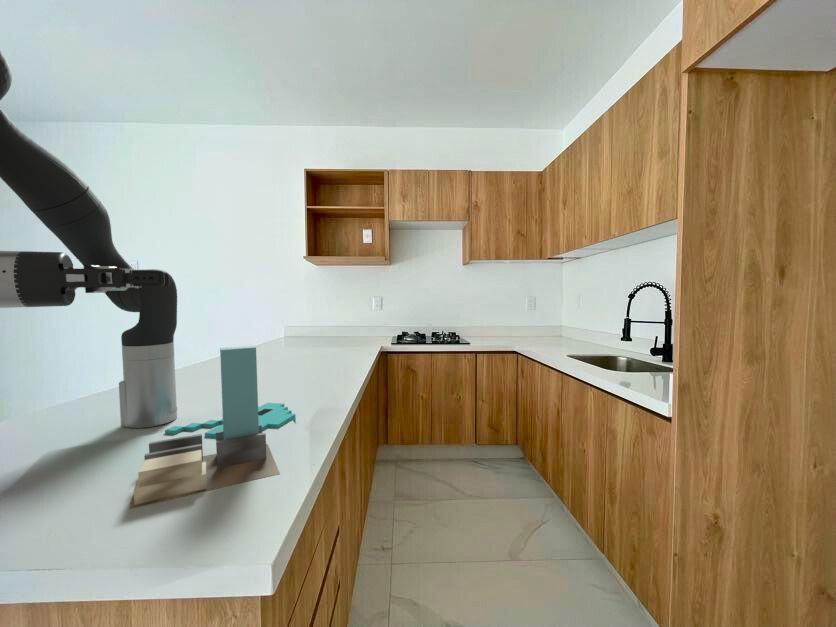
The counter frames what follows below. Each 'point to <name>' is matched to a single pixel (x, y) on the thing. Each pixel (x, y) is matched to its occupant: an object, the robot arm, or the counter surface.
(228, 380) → the block
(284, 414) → the alien figure
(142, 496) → the offcut lower
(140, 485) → the offcut upper
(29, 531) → the counter surface
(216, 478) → the rack
